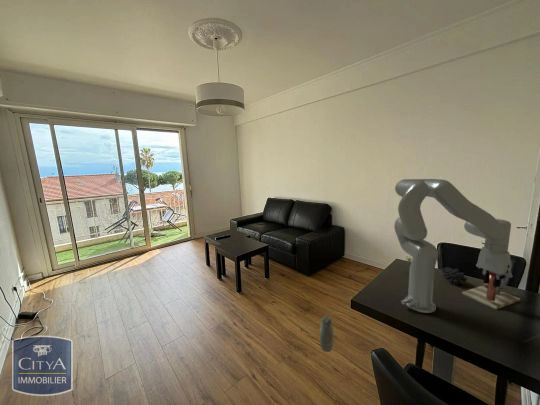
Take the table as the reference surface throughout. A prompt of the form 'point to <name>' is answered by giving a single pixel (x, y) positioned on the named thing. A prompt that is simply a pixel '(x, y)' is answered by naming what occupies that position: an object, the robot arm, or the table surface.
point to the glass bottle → (326, 334)
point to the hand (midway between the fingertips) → (491, 284)
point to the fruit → (454, 276)
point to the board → (500, 300)
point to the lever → (492, 287)
